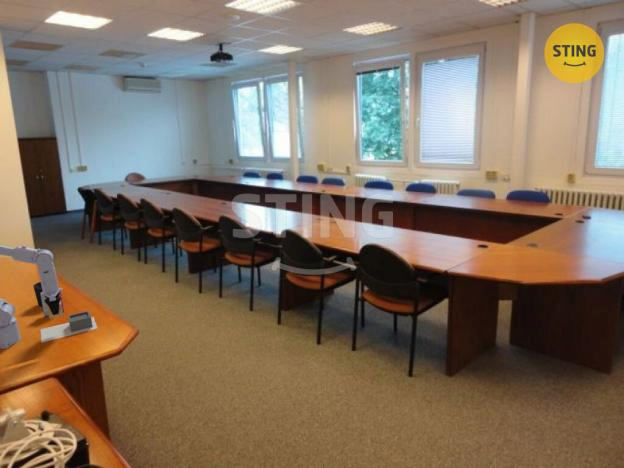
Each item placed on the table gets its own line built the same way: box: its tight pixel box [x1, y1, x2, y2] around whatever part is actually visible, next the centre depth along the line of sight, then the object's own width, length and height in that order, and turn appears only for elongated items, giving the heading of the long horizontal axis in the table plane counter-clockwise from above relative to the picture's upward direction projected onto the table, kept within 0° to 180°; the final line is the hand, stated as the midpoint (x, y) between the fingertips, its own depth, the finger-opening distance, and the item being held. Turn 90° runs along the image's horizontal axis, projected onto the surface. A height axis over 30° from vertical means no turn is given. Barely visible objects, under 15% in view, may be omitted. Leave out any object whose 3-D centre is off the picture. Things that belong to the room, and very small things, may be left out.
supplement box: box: [40, 291, 65, 318], centre depth 198 cm, size 6×6×12 cm
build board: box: [40, 316, 98, 344], centre depth 182 cm, size 20×14×1 cm
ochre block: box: [47, 300, 64, 320], centre depth 177 cm, size 5×5×5 cm
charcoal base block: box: [67, 310, 93, 332], centre depth 183 cm, size 8×8×4 cm
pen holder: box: [32, 281, 43, 307], centre depth 211 cm, size 9×9×10 cm
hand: (55, 311), depth 178 cm, fingers closed on ochre block, 5 cm apart
